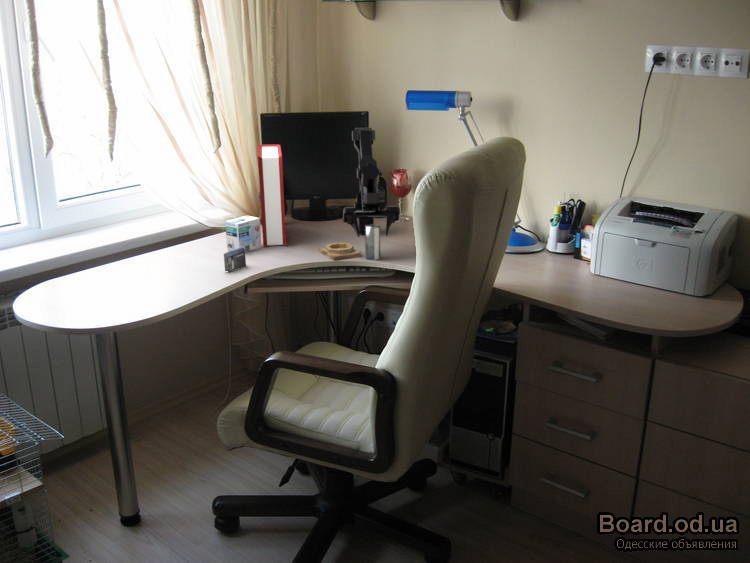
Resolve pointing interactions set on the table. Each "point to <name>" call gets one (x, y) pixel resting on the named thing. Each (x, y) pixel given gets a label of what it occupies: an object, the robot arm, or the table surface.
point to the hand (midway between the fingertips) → (372, 236)
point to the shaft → (372, 241)
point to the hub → (339, 251)
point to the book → (272, 194)
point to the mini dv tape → (234, 259)
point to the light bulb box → (243, 233)
